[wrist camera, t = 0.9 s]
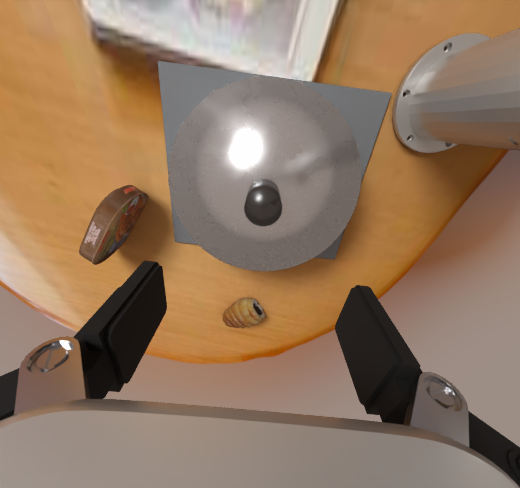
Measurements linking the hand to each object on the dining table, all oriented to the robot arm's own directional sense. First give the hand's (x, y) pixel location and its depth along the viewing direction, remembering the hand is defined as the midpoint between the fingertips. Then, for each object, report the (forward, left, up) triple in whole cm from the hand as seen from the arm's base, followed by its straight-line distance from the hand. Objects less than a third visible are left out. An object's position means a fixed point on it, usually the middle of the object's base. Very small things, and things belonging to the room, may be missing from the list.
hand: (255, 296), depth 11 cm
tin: (+23, +9, -27) cm, 36 cm away
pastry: (0, +29, -27) cm, 40 cm away
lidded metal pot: (0, 0, -26) cm, 26 cm away
